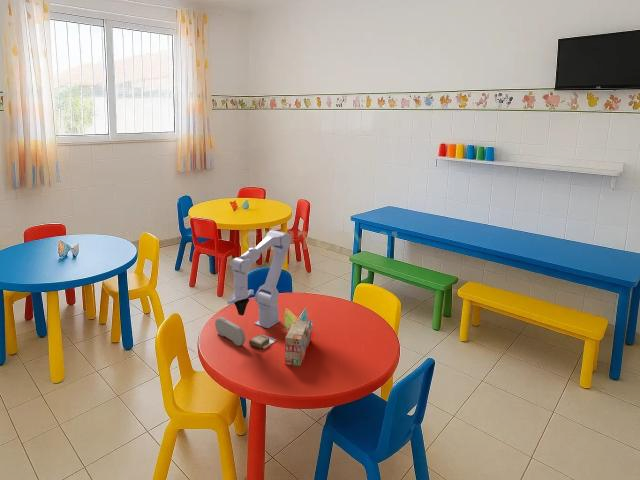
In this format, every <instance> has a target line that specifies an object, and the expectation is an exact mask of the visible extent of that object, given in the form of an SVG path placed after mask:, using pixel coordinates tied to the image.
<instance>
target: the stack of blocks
mask: <svg viewBox="0 0 640 480" xmlns="http://www.w3.org/2000/svg"><path fill="white" fill-rule="evenodd" d="M284 341H285V346H284V348H285V349H284V351H285V352H284V354H285V355H284V361H285V362H284V365H287V366H295V367H301V365H302V363H303V361H304V358H305V356H306V355H305V354H306V352H307V349H308V347H309V344H310V342H311V321H309V320H308V321H307V320H298V319H296V321H295V323H293V322H292V323H291V326H290V328H289V330H288V332H287V333H286V335H285V339H284Z"/></svg>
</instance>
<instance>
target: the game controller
mask: <svg viewBox="0 0 640 480" xmlns="http://www.w3.org/2000/svg"><path fill="white" fill-rule="evenodd" d="M214 326H215V329H216V330H215V331H216V332H217V334H218V335H219V336H220V337H226V338H227V339H229V340H231V341H232V342H233V344H234V345H235V346H238V347H240V346H242V345H244V344H245V343H246V334H245V331H244V330H243V328H242V327H241V326H239V325H237V324H236V323H234V322H232V321H230V320H228V319H227V318H224V316H221V317H218V318H216V320H215V325H214Z"/></svg>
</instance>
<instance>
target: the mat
mask: <svg viewBox="0 0 640 480" xmlns="http://www.w3.org/2000/svg"><path fill="white" fill-rule="evenodd" d="M260 335H261V336H263V337H266V338H269V343H268V344H267V345H265V346H264V347H262V348H261V349H266V348H268V347H269V346H271V345H272V344H274V343H275V342H277V339H276V338H273V337H270V336H268V335H264V334H260Z"/></svg>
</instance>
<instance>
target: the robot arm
mask: <svg viewBox="0 0 640 480" xmlns="http://www.w3.org/2000/svg"><path fill="white" fill-rule="evenodd" d="M291 242H292V238H291V235H290V234H289V233H288V232H283V231H280V230H279V231H278V230H275V229H271V230H269V231H268V232H267V233H266V235H265V238H263V239H262V241H260V242H259V243H258V244H257V245H256V246H255V247H249V248H248V249H247V251H245V252H244V253H243V254H241V255H240V256H239V257H235V258H233V259H232V260H231V264H230V266H229V267H230V269H231V271H232V275H233V293H232V296H230V298H228V299H227V300H226V301H227V305H229V306H232V305H233V304H234V305H235V308H236V310H237V313H238V316H244V315H245V312H246V308H247V305H248V304H249V301H250V298H249V297H250V296H253V295H254V294H255V295H254V300H255V301H254V302H255V303H257V306H258V321H255V322H254V324H255V325H257V326H260V327H263V328H265V329H270V328H271V327H273V326H275V325H276V324H278V323H280V322H281V319H279V318H280V315H279V314H280V311H279V310H280V309H279V305H278V302H279V295H280V292H279V290H278V289H277V284H278V282H279V278H280V276H281V272H282V269H283V267H284V263H285V261H286V257H287V256H288V255H287V254H288V252H289V249H290V246H291ZM269 248H272V249H274V255H273V257H272V260H271V264H270V267H269V269H268V270H269V271H268V272H267V276H266V279H265V282H264V284H262V285H260V286H259V287H258V290H257V291H256V293H254V289H248V288H249V287H248V272H249V271H250V269H251V267H252V265H253V264H254V263H256V261H258V260H260V257H261V254H263V253H264V252H265V251H266V250H268V249H269Z"/></svg>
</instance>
